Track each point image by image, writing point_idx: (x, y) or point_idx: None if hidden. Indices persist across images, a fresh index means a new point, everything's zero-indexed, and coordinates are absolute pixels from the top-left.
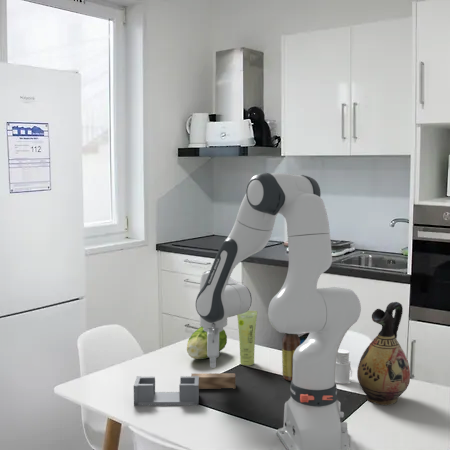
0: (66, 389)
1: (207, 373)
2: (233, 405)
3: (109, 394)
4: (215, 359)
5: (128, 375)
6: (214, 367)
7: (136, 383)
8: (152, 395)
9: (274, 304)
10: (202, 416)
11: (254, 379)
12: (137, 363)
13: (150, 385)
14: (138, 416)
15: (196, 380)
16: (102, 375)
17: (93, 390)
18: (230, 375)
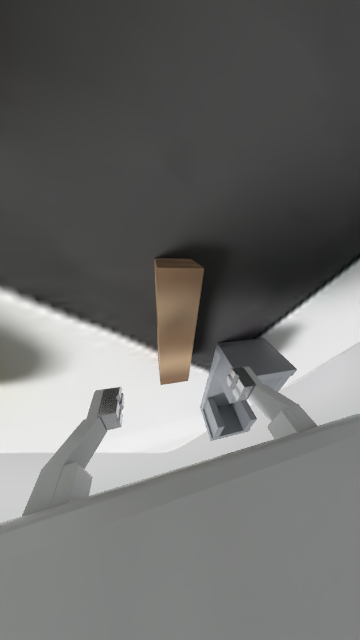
0: (174, 447)
1: (160, 356)
2: (298, 271)
3: (192, 424)
4: (284, 398)
5: (120, 433)
6: (246, 367)
7: (240, 432)
8: (246, 401)
9: None
10: (308, 327)
11: (72, 136)
12: (51, 444)
13: (255, 420)
14: None
15: (266, 377)
16: (125, 447)
17: (178, 435)
18: (182, 288)
